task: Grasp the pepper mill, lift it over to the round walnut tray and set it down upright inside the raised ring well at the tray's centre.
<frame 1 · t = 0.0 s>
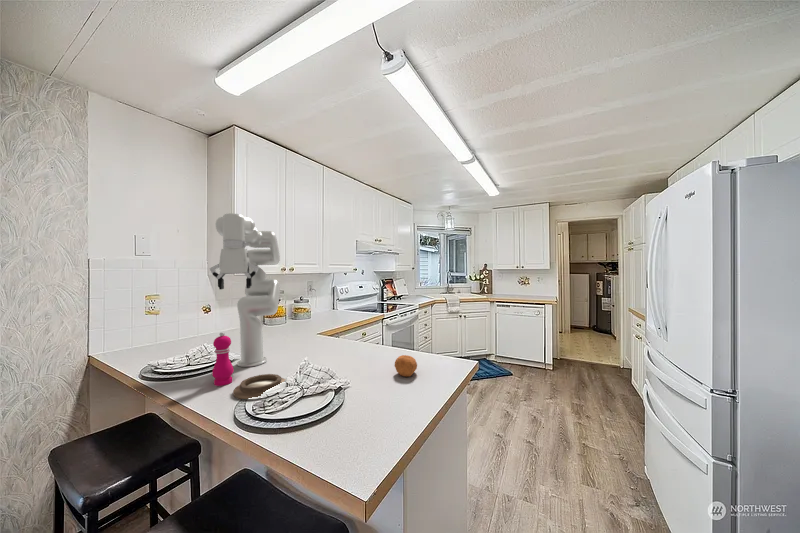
hand: (235, 288, 119), 37 cm above the worktop, tool pointing down, fingers open, 9 cm apart
potato: (406, 374, 123), on the worktop
pepper mill: (223, 383, 117), on the worktop
round tray: (261, 389, 110), on the worktop
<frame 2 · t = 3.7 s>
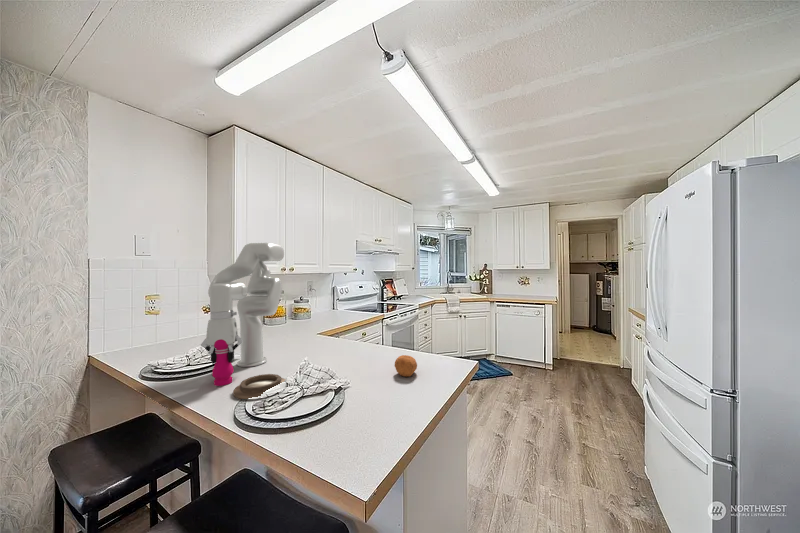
hand: (222, 361, 117), 8 cm above the worktop, tool pointing down, fingers closed on pepper mill, 5 cm apart
pepper mill: (223, 383, 117), on the worktop, touching gripper
everything else where it was.
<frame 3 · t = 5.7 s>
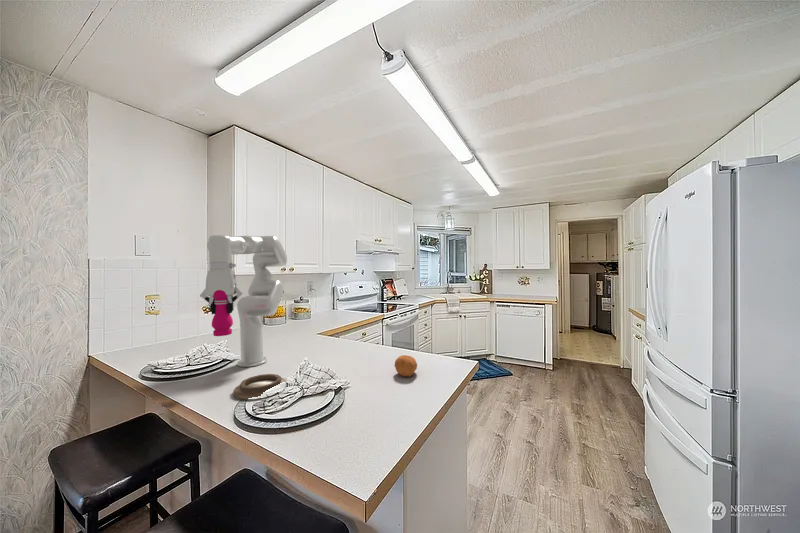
hand: (222, 312, 118), 27 cm above the worktop, tool pointing down, fingers closed on pepper mill, 5 cm apart
pepper mill: (222, 334, 118), point 19 cm above the worktop, touching gripper
everything else where it was.
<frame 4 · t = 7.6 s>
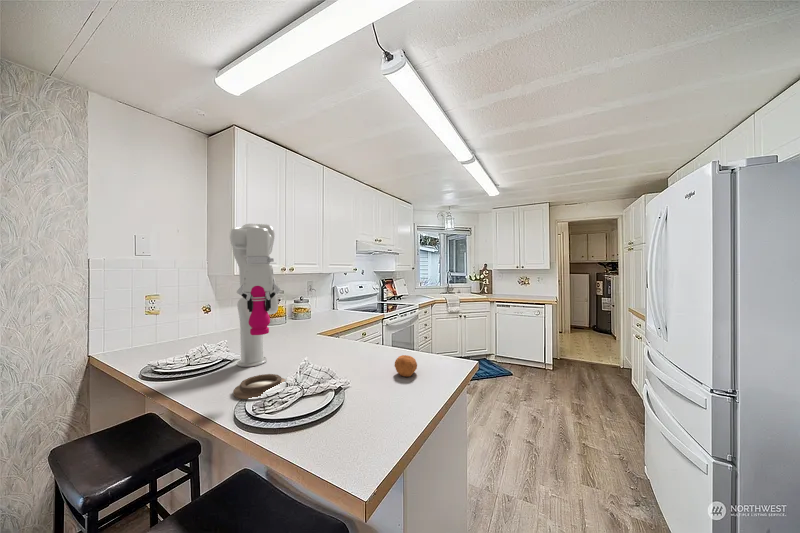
hand: (259, 310, 111), 29 cm above the worktop, tool pointing down, fingers closed on pepper mill, 5 cm apart
pepper mill: (259, 333, 110), point 20 cm above the worktop, touching gripper
everything else where it was.
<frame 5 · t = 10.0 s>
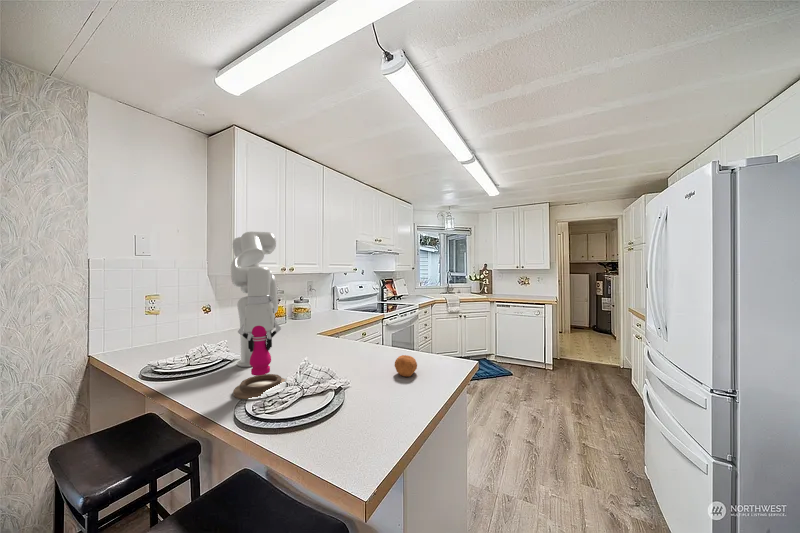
hand: (260, 349, 110), 15 cm above the worktop, tool pointing down, fingers closed on pepper mill, 5 cm apart
pepper mill: (260, 373, 110), point 6 cm above the worktop, touching gripper
everything else where it was.
when the fingers open (11 cm above the worktop, at t = 11.7 s): pepper mill drops 1 cm, resting on round tray.
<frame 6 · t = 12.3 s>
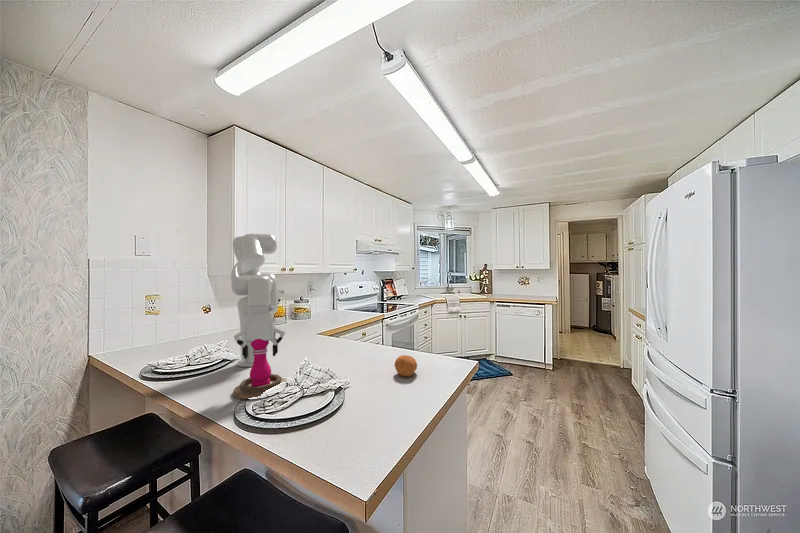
hand: (260, 356, 110), 12 cm above the worktop, tool pointing down, fingers open, 9 cm apart
pepper mill: (261, 385, 111), point 1 cm above the worktop, touching round tray
everything else where it was.
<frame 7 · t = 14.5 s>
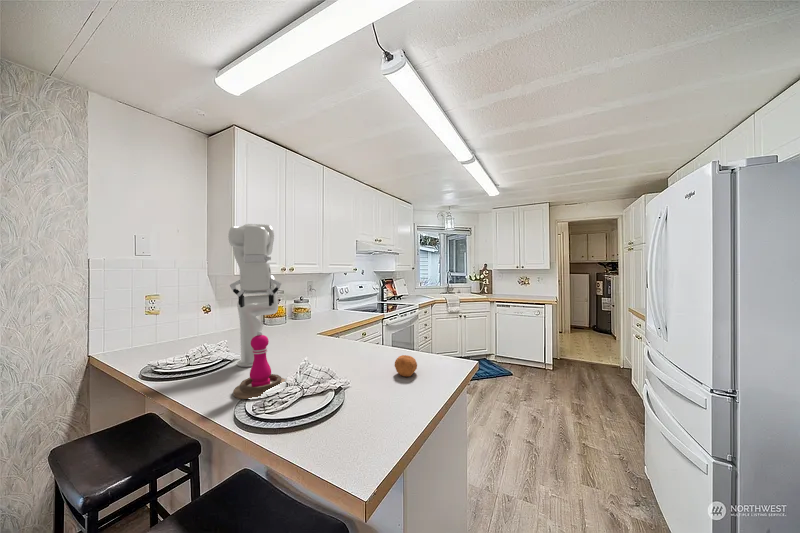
hand: (256, 306, 111), 31 cm above the worktop, tool pointing down, fingers open, 9 cm apart
nothing on the worktop moved.
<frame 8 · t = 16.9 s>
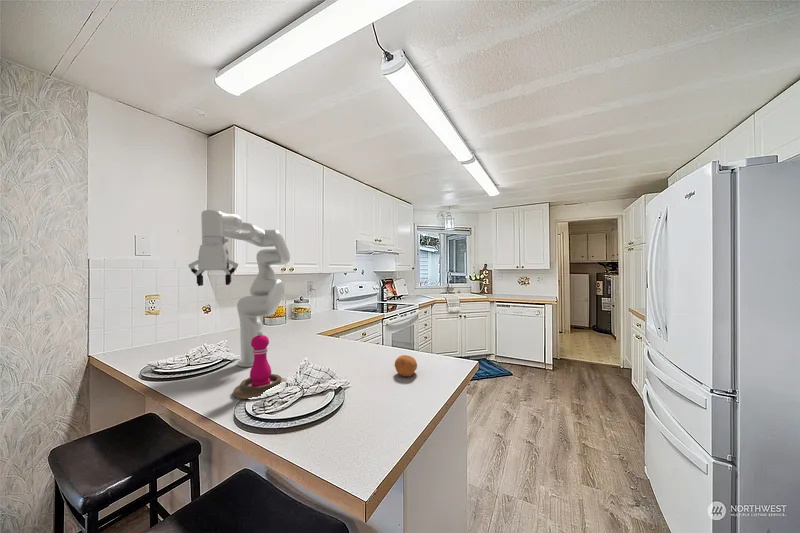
hand: (214, 285, 119), 38 cm above the worktop, tool pointing down, fingers open, 9 cm apart
nothing on the worktop moved.
at the end: pepper mill 0.1 cm off-centre on the round tray, point 1.2 cm above the round tray's base; pepper mill tilted 0°; the gripper is holding nothing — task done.
